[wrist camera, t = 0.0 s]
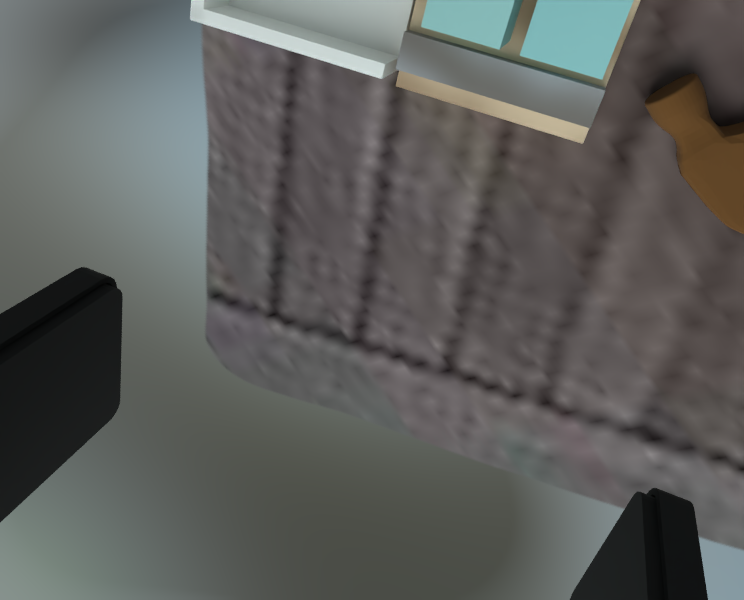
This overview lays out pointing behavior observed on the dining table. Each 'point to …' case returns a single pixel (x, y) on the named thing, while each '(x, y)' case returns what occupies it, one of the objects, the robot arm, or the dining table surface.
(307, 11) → the tray
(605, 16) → the teal cube block
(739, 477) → the dining table surface
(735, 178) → the hammer
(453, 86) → the slot board
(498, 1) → the light teal cube
